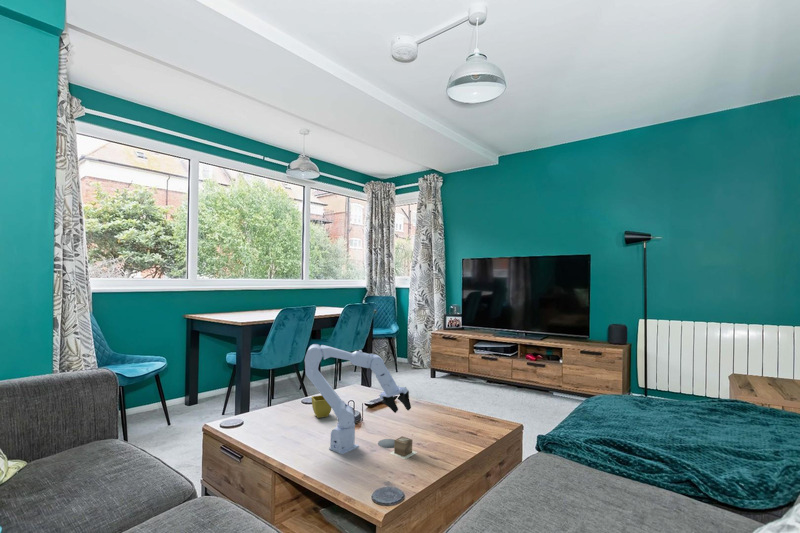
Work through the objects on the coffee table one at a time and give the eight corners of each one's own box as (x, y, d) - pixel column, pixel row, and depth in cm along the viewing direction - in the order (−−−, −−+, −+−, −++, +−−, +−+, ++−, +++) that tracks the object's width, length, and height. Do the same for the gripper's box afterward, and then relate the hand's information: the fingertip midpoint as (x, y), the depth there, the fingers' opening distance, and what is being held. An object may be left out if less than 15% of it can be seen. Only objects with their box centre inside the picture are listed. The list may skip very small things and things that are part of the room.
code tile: (405, 460, 150) (405, 459, 150) (388, 454, 155) (388, 453, 156) (417, 453, 157) (417, 452, 157) (401, 447, 162) (401, 446, 162)
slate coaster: (390, 450, 158) (390, 449, 158) (373, 444, 164) (373, 443, 164) (404, 443, 165) (404, 442, 165) (387, 438, 171) (387, 437, 171)
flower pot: (310, 414, 199) (311, 396, 200) (327, 412, 203) (328, 394, 203) (314, 420, 191) (315, 401, 192) (332, 417, 195) (333, 399, 195)
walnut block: (404, 456, 153) (404, 443, 153) (394, 453, 156) (394, 439, 156) (412, 452, 157) (412, 439, 157) (402, 448, 160) (402, 436, 160)
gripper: (404, 373, 163) (420, 401, 163) (380, 379, 172) (395, 406, 172) (395, 383, 157) (411, 412, 158) (371, 389, 166) (386, 416, 167)
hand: (402, 410), depth 165 cm, fingers open, 7 cm apart
